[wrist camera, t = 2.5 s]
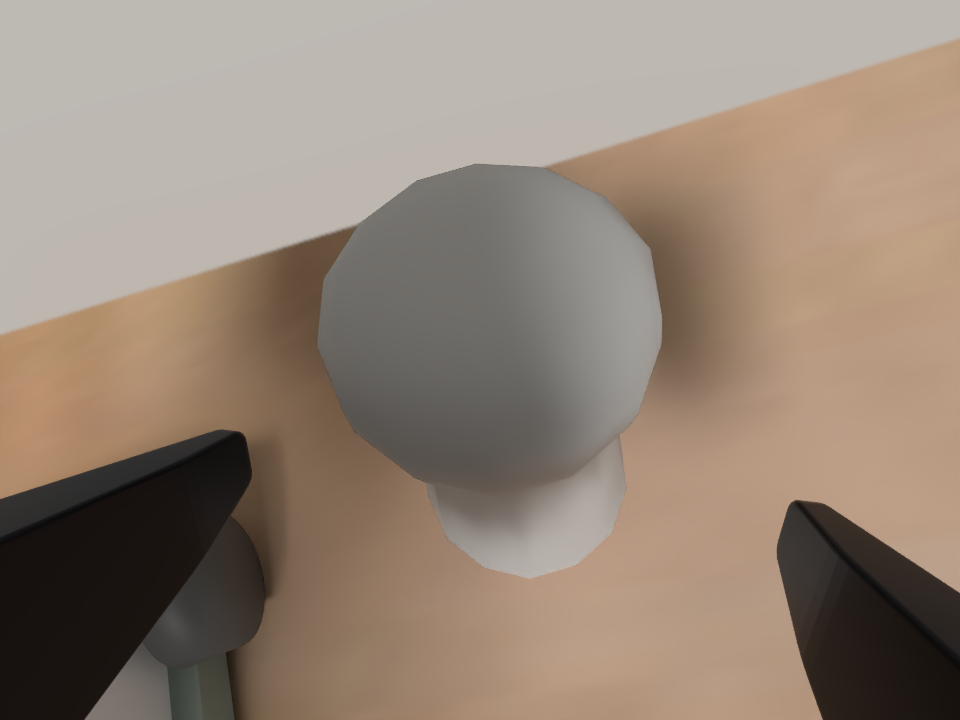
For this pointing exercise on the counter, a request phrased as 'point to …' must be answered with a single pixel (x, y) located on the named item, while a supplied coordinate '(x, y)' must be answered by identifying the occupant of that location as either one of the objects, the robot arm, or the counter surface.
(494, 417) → the salt shaker
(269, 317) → the counter surface
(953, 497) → the counter surface
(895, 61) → the counter surface
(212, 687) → the toy wheeled cart
